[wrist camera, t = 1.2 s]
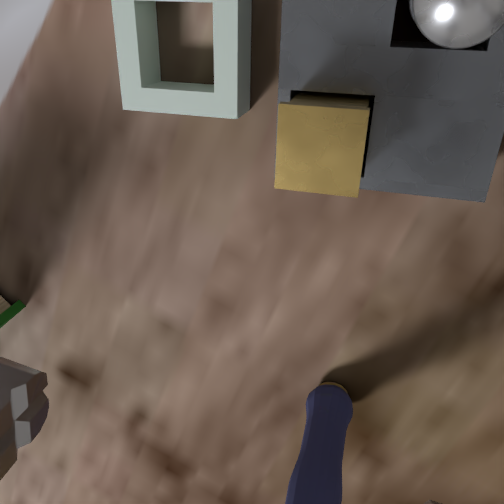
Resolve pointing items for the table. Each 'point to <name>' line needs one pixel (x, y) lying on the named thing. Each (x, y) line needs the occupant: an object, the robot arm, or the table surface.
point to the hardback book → (9, 310)
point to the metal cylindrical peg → (457, 20)
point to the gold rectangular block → (321, 142)
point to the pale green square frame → (177, 93)
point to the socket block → (401, 95)
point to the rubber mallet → (322, 447)
